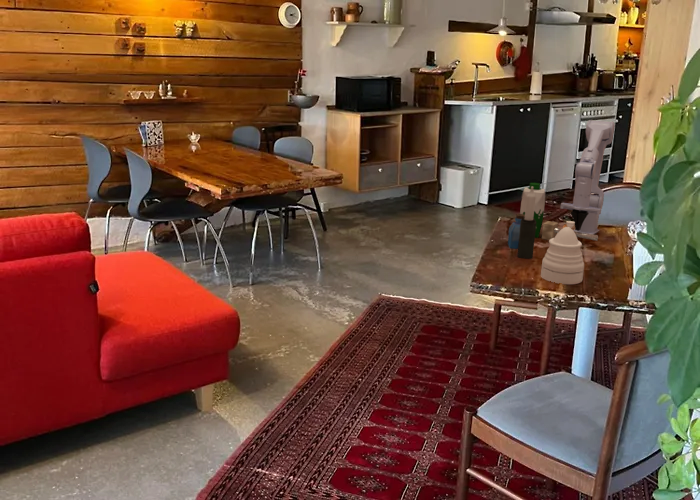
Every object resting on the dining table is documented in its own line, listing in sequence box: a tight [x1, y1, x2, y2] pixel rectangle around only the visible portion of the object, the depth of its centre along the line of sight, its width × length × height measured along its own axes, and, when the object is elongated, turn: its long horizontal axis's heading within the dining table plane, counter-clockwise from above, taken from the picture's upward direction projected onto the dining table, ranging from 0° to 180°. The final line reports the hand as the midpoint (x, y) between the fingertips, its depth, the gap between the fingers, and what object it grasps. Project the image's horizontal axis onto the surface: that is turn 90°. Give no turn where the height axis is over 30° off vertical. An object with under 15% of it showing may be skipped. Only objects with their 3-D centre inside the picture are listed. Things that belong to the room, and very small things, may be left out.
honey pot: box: [540, 220, 585, 285], centre depth 213 cm, size 13×13×18 cm
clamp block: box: [541, 220, 559, 241], centre depth 259 cm, size 4×5×6 cm
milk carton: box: [519, 182, 546, 239], centre depth 261 cm, size 9×9×20 cm
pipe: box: [554, 227, 599, 242], centre depth 254 cm, size 20×2×2 cm, turn 54°
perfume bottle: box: [507, 213, 525, 250], centre depth 246 cm, size 6×6×12 cm
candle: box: [516, 186, 536, 260], centre depth 232 cm, size 5×5×25 cm
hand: (577, 230), depth 252 cm, fingers closed
